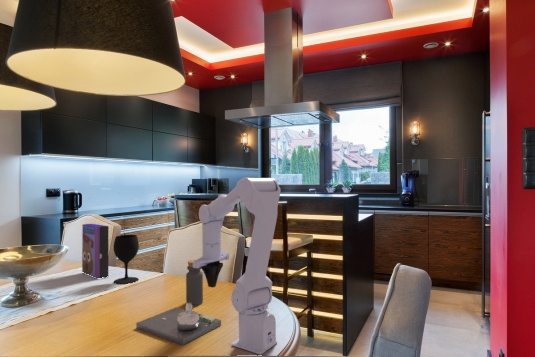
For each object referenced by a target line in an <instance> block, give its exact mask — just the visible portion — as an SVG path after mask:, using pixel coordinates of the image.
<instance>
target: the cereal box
mask: <svg viewBox="0 0 535 357" xmlns="http://www.w3.org/2000/svg"><path fill="white" fill-rule="evenodd" d="M81 227H82V229H81V231H82V233H81V237H82V239H81V240H82V243H81V245H82V247H81V248H82V250H81V251H82V252H81V255H82V256H81V259H82V261H81V262H82V263H81V264H82V265H81V268H82V269H81V270H82V271H81V272H84V273H86V274H89V275H91V276H93V277H96V278H102V277H107V276H108V277H109V225H104V224H96V223H85V224H83V223H82V226H81ZM93 277H92V278H93ZM108 277H107V278H108ZM102 279H103V278H102Z"/></svg>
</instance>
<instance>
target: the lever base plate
mask: <svg viewBox="0 0 535 357" xmlns="http://www.w3.org/2000/svg"><path fill="white" fill-rule="evenodd" d="M182 312H186V309H183V308H179V307H173V308H171V309H169V310H165V311H163V312H160V313H159V314H155V315H153V316H151V317H148V318H146V319H143V320H140V321H138V322H136V323H135V324H136V325H135V327H136V329H138V330H141V331H143V332H145V333H146V332H147V333H149V334H152V335H154V336H156V337H160V338H162V339H165V340H168V341H170V342H173V343H176V344H179V345H182V346H184V345H186V344H189V343H191V342H192V341H194V340H196V339H197V338H200V337H201V336H203V335H205V334H208V333H209V332H210V331H213V330H214V329H216V328H219V327H221V326H222V320H221V319H218V318H216V317H213V316H210V315H206V314H201V313H199V325H198V327H196V328H194V329H190V330H181V329H179V328H178V327H177V316H178V314H180V313H182Z"/></svg>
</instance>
